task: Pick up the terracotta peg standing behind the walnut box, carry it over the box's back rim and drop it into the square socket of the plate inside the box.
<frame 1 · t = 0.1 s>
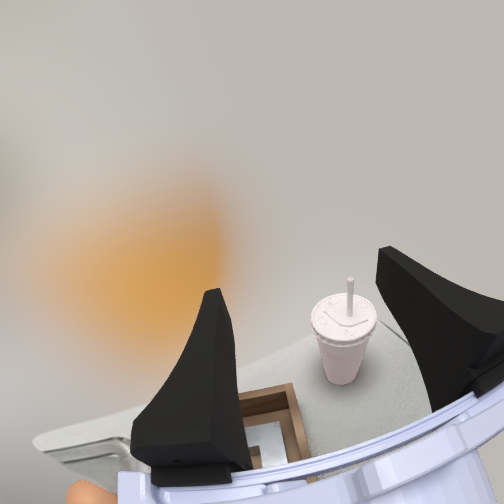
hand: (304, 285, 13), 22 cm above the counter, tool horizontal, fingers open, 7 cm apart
smoothie: (341, 373, 32), on the counter
socket box: (240, 484, 22), on the counter
socket plate: (235, 479, 21), in the socket box, point 2 cm above the counter
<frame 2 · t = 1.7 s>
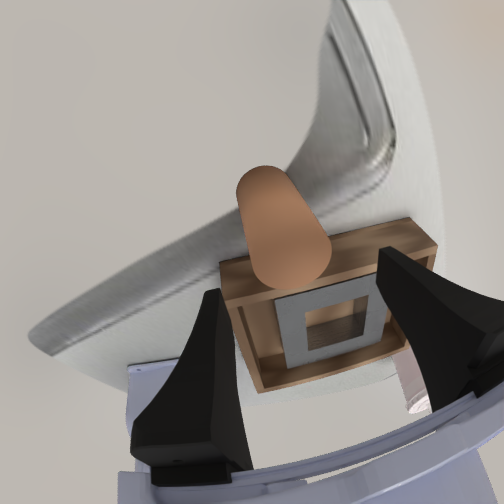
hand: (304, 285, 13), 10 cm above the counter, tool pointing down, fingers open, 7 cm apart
peg: (264, 192, 21), on the counter
smoothie: (400, 341, 36), on the counter
socket box: (325, 298, 28), on the counter
socket plate: (332, 313, 26), in the socket box, point 2 cm above the counter
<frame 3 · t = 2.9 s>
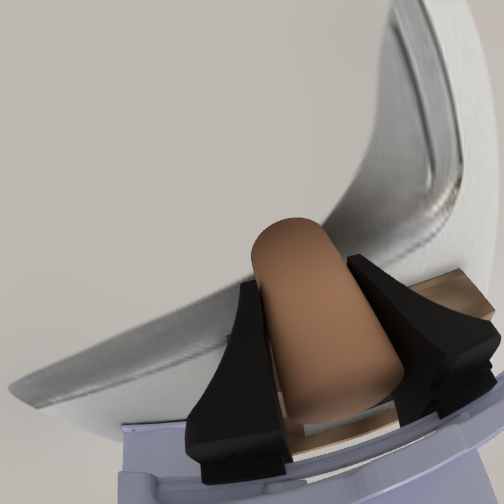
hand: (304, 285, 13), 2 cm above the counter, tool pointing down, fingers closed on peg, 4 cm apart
peg: (291, 253, 15), on the counter, touching gripper
socket box: (353, 361, 22), on the counter
socket plate: (361, 382, 20), in the socket box, point 2 cm above the counter
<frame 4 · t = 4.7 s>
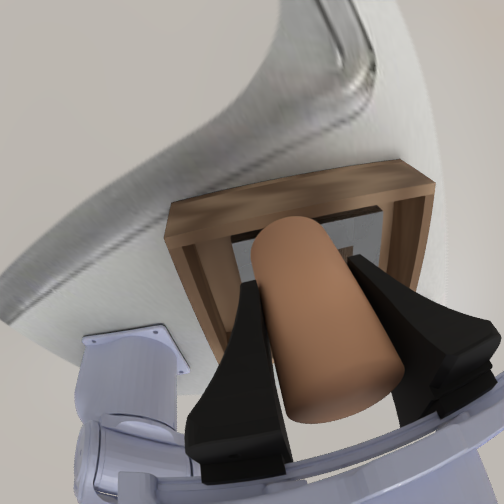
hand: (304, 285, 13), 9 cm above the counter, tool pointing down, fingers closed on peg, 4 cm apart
peg: (290, 252, 15), point 7 cm above the counter, touching gripper
socket box: (302, 257, 24), on the counter
socket plate: (310, 273, 22), in the socket box, point 2 cm above the counter
when the fingers open (5 cm above the counter, at t = 6.6 s): peg drops 2 cm, resting on socket box.
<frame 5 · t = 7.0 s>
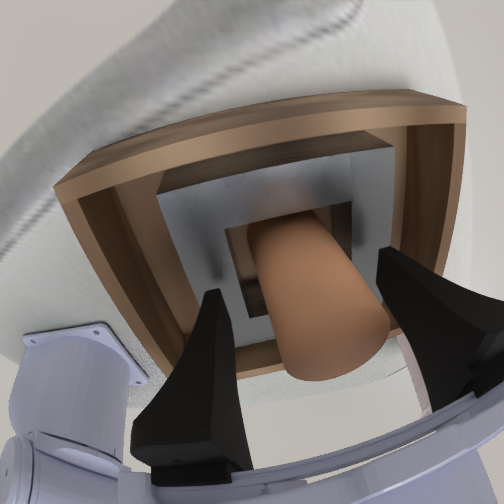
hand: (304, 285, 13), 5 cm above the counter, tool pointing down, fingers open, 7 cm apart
peg: (283, 233, 16), point 1 cm above the counter, touching socket box
smoothie: (410, 320, 25), on the counter
socket box: (280, 228, 17), on the counter
socket plate: (289, 248, 15), in the socket box, point 2 cm above the counter
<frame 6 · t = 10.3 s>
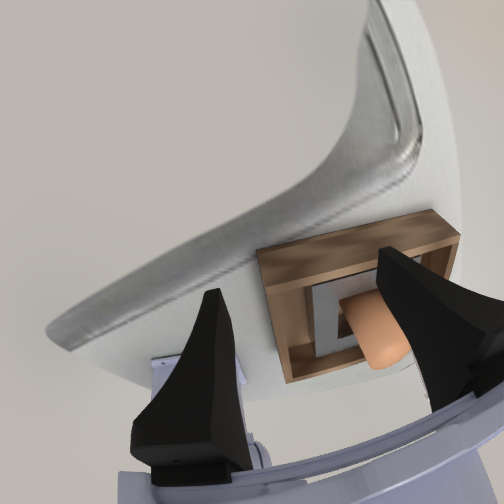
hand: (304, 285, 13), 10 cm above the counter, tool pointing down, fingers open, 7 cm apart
peg: (355, 291, 28), point 1 cm above the counter, touching socket box
socket box: (352, 287, 28), on the counter
socket plate: (360, 301, 27), in the socket box, point 2 cm above the counter
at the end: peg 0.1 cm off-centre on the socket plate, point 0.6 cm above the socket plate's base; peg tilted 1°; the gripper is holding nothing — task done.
